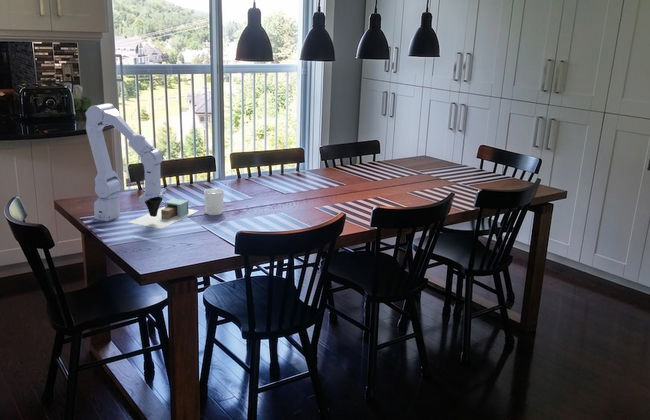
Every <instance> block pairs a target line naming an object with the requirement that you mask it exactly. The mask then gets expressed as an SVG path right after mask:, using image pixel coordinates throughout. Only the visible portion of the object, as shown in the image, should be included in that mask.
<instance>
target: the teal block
mask: <svg viewBox="0 0 650 420" xmlns="http://www.w3.org/2000/svg"><path fill="white" fill-rule="evenodd" d="M171 205H176V206H177V212H178V216H179V217H181V216H183V215H185V214H187V213H189V210H188V209H189V200H185V199H180V198H179V199H177V198H174V197H173V198H171V199H168V200H166V201H164V207H165V208H167V207H169V206H171Z"/></svg>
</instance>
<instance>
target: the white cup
mask: <svg viewBox="0 0 650 420" xmlns="http://www.w3.org/2000/svg"><path fill="white" fill-rule="evenodd" d="M224 194H225V190H223V189H222V188H215V187H212V188H210V187H209V188H205V189H204V190H203V199H204V209H205V210H204V212H205V214H206V215H209V216H216V215H217V216H219V215H222V214H223V207H224Z"/></svg>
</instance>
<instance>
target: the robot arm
mask: <svg viewBox="0 0 650 420" xmlns="http://www.w3.org/2000/svg"><path fill="white" fill-rule="evenodd" d="M85 117H86V121H85V131H86V134H87V139H88V141H89V146H90V150H91V152H92V157H93V160H94V165H95V167H96V171H97V174H96V176H95V178H94V183H95V184H94V185H95V186H94V192H95V194H96V195H97V196H98V198H97V200H95V201H94V203H93V211H94V220H99V221H104V222H109V221H112V220H114V219H119V218H120V217H121V209H120V208H121V207H120V192H121V191H122V190H123V182H122V180H121V179H120V178H119V175H118V173H117V172H116V171H114V170H113V166H112V163H111V158H110V154H109V152H108V147H107V144H106V140H105V136H104V132H103V130H104V128H105V127H106V125H109V126H113V127H114V128H115V129H116V130H117V131H118V132H119V133H120V134H121V135H123V136H124V137H125V138H126V139H127V140H128V145H129V147H131V149H132V150H133V151H134V152H135V153H136V154H137V155H138V156H139V157H140V161H141V164H142V165H143V170H144V192H143V194H141V195H140V196H138V203H141V204H142V203H144V204H145V205H146V207H147V210H148V214H149V213H150V216H153V217H155V216H157V212H158V209H160V205H161V203H162V201H163V196H164V195H167V188H161V187H162V186H161V184H162V183H161V163H162V162H163V160H164V155H163V152H161V151H162V150H160V149H158V148H157V147H156V148H155V147H154V146H153V145H151V144H150V143H149V142H148V141H147V140H146V137H145V135H141V134H140V133H135V131H134V130H133V129H132V128H131V126H129V124H128V123H127V122H126V121H125V119H124V118H123V117H122V116H121V113H120V112H119V110H118V109H117V108H116V107H115V106H114V105H113V104H112V103H110V102H106V103H102V104H101V103H100V104H97V105H96V104H95V105H91V106H89V107H88V108H87V110H86V112H85Z"/></svg>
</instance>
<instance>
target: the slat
mask: <svg viewBox="0 0 650 420" xmlns="http://www.w3.org/2000/svg"><path fill="white" fill-rule="evenodd" d="M177 215H178V212H177V206H176V205H171V206H169V207H167V208H164V209H162V210H161V218H162V219H167V220H168V219H170V218H173V217H175V216H177Z"/></svg>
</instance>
